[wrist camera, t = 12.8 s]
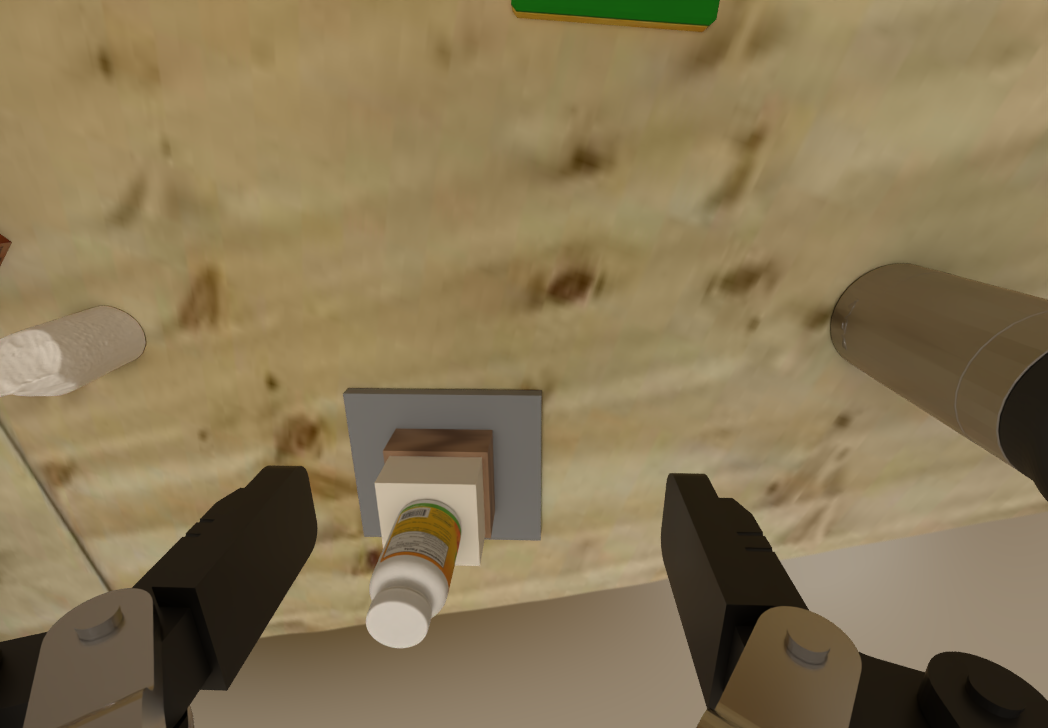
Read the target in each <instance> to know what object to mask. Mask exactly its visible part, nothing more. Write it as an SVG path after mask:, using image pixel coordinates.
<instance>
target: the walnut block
mask: <svg viewBox="0 0 1048 728" xmlns="http://www.w3.org/2000/svg"><path fill="white" fill-rule="evenodd" d="M383 456H384V464H385V463H386V461H387V459H388V457H389V456H422V457H482V469H483V492H484V516H485V538H491V535H492V528H493V521H494V515H495V493H494V463H493V434H492V430H471V429H397V428H396V429H395V431H394V433H393V434H392V436H391V438H390V439H389V441H388V443H387V445H386V446H385V448H384V450H383Z"/></svg>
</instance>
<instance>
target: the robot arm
mask: <svg viewBox="0 0 1048 728" xmlns="http://www.w3.org/2000/svg"><path fill="white" fill-rule="evenodd" d="M831 336H832V341H833V343H834V346H835V348H836V350H837V351H838V352H839V354H840V355H841V356H842V357H843V358H844V359H845V360H847V361H848V362H849V363H851V364H852V365H854V366H855V367H857V368H859V369H860V370H862V371H863V372H865V373H866V374H868V375H869V376H871V377H872V378H874V379H875V380H877V381H878V382H880V383H881V384H883V385H885V386H886V387H888V388H889V389H891V390H892V391H894V392H896V393H897V394H899V395H900V396H902V397H903V398H905V399H907V400H908V401H910V402H911V403H913V404H914V405H916V406H917V407H919V408H921V409H922V410H924V411H925V412H927V413H928V414H930V415H932V416H933V417H935V418H936V419H938V420H939V421H941V422H943V423H944V424H946V425H947V426H949V427H950V428H952V429H953V430H955V431H957V432H958V433H960V434H961V435H963V436H964V437H966V438H968V439H969V440H971V441H972V442H974V443H976V444H977V445H979V446H980V447H982V448H984V449H985V450H987V451H988V452H990V453H991V454H993V455H995V456H996V457H998V458H999V459H1001V460H1002V461H1004V462H1005V463H1007V464H1009V465H1010V466H1012V467H1013V468H1015V469H1017V470H1018V471H1019V472H1021V473H1022V474H1024V475H1025V476H1027V477H1028V478H1030V479H1031V480H1033V481H1034V483H1035V485H1036V486H1037V488H1038V490H1039V491H1040V493H1041V494H1042V495H1043V497H1044V498H1045V499H1046V500H1047V501H1048V300H1047V299H1043V298H1039V297H1036V296H1032V295H1028V294H1024V293H1020V292H1016V291H1013V290H1009V289H1005V288H1001V287H997V286H994V285H990V284H986V283H982V282H978V281H974V280H971V279H967V278H963V277H959V276H956V275H952V274H949V273H945V272H941V271H937V270H933V269H929V268H925V267H921V266H917V265H913V264H891V265H886V266H882V267H880V268H877V269H875V270H872V271H870V272H869V273H867V274H865V275H863V276H862V277H860V278H859V279H858V280H857V281H855V282H854V283H853V284H852V285H851V286H850V287H849V288H848V289H847V290H846V291H845V293H844V294H843V295H842V296H841V298H840V300H839V302H838V303H837V305H836V307H835V310H834V313H833V316H832V321H831ZM316 538H317V520H316V514H315V509H314V504H313V498H312V493H311V488H310V482H309V477H308V473H307V471H306V469H305V468H304V467H302V466H266V467H264V468H263V469H262V470H261V471H260V472H259V473H258V474H257V475H256V477H255V478H254V479H253V480H252V481H251V482H250V483H249V484H248V485H247V486H246V487H245V488H239V489H238V490H236V491H234V492H233V493H231V494H229V495H228V496H226V497H224V498H223V499H221V500H219V501H218V502H216V503H215V504H214V505H213V506H212V507H211V508H210V509H209V511H208V512H207V513H206V514H205V515H204V516H203V517H202V518H201V519H200V522H199V523H196V524H195V525H194V526H193V527H192V528H191V529H190V530H189V531H188V532H187V533H186V536H185V537H182V538H181V539H180V540H179V541H178V542H177V543H176V544H175V545H174V546H173V547H172V548H171V549H170V550H169V551H168V552H167V553H166V554H165V555H164V556H163V557H162V558H161V559H160V560H159V561H158V562H157V563H156V564H155V565H154V566H153V567H152V568H151V569H150V570H149V571H148V572H147V573H146V574H145V575H144V576H143V577H142V578H141V579H140V580H139V581H138V582H137V583H136V584H135V585H134V586H133V587H132V588H127V589H119V590H115V591H111V592H107V593H104V594H101V595H99V596H96V597H94V598H92V599H90V600H88V601H86V602H84V603H82V604H80V605H79V606H77V607H75V608H74V609H72V610H71V611H69V612H68V613H66V614H65V615H64V616H63V617H61V618H60V619H59V620H58V621H57V622H56V623H55V624H54V625H53V626H52V627H51V628H50V630H49V631H48V632H45V633H40V634H35V635H31V636H26V637H22V638H17V639H12V640H8V641H3V642H0V728H194V718H193V713H192V709H191V707H190V704H191V702H192V701H193V699H194V698H195V696H196V695H197V693H198V692H199V690H226V691H227V690H228V688H229V687H230V685H231V683H232V682H233V680H234V678H235V677H236V675H237V673H238V672H239V670H240V668H241V667H242V665H243V664H244V662H245V660H246V659H247V657H248V655H249V654H250V652H251V651H252V649H253V647H254V646H255V644H256V643H257V641H258V639H259V638H260V636H261V634H262V633H263V631H264V629H265V628H266V626H267V625H268V623H269V621H270V620H271V618H272V616H273V615H274V613H275V612H276V610H277V608H278V607H279V605H280V603H281V602H282V600H283V598H284V597H285V595H286V594H287V592H288V590H289V589H290V587H291V585H292V584H293V582H294V581H295V579H296V577H297V576H298V574H299V572H300V571H301V569H302V567H303V566H304V564H305V563H306V561H307V559H308V558H309V556H310V554H311V553H312V551H313V548H314V546H315V542H316ZM661 549H662V556H663V561H664V565H665V568H666V571H667V575H668V578H669V581H670V585H671V588H672V592H673V595H674V598H675V602H676V605H677V608H678V612H679V615H680V618H681V622H682V625H683V629H684V632H685V635H686V639H687V642H688V646H689V649H690V652H691V656H692V659H693V662H694V666H695V669H696V672H697V676H698V679H699V682H700V686H701V689H702V692H703V696H704V699H705V703H706V706H707V710H706V711H705V713H704V714H703V716H702V718H701V720H700V722H699V723H698V725H697V727H696V728H1048V701H1047V700H1046V699H1045V698H1044V697H1043V695H1041V694H1040V693H1039V692H1038V691H1037V690H1036V689H1035V688H1034V687H1032V686H1031V685H1030V684H1029V683H1027V682H1026V681H1025V680H1023V679H1022V678H1021V677H1019V676H1017V675H1016V674H1014V673H1013V672H1011V671H1010V670H1008V669H1006V668H1004V667H1002V666H1000V665H998V664H996V663H994V662H991V661H989V660H987V659H984V658H981V657H978V656H975V655H972V654H968V653H962V652H943V653H940V654H937V655H935V656H934V657H933V658H932V659H931V660H930V662H929V664H928V666H927V669H926V672H922V671H918V670H915V669H911V668H907V667H904V666H900V665H897V664H894V663H890V662H887V661H883V660H880V659H876V658H874V657H870V656H867V655H865V654H862V653H860V652H858V650H857V648H856V647H855V645H854V644H853V642H852V641H851V639H850V638H849V637H848V636H847V635H846V634H845V633H844V632H843V631H842V630H841V629H840V628H839V627H837V626H836V625H835V624H834V623H832V622H830V621H829V620H827V619H826V618H824V617H822V616H820V615H818V614H816V613H813V612H811V611H809V609H808V608H807V606H806V604H805V603H804V601H803V599H802V598H801V596H800V594H799V593H798V591H797V589H796V588H795V586H794V584H793V582H792V581H791V579H790V577H789V576H788V574H787V572H786V571H785V569H784V567H783V566H782V564H781V562H780V561H779V559H778V557H777V556H776V554H775V552H772V547H771V545H770V544H769V542H768V540H767V539H766V537H765V536H763V532H762V530H761V529H760V527H759V525H758V524H757V522H756V520H755V518H754V517H753V515H752V514H751V513H750V512H749V511H748V510H746V509H745V508H744V507H743V506H742V505H740V504H739V503H738V502H737V501H735V500H734V499H733V498H719V497H718V496H717V494H716V492H715V490H714V488H713V486H712V484H711V482H710V480H709V478H708V477H707V475H706V474H686V473H670V474H669V475H668V478H667V483H666V492H665V501H664V510H663V519H662V528H661Z"/></svg>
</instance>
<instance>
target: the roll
mask: <svg viewBox="0 0 1048 728" xmlns="http://www.w3.org/2000/svg"><path fill="white" fill-rule="evenodd" d="M145 345H146V341H145V335H144V332H143V330H142V328H141V326H140V325H139V324H138V322H137V321H136V320H135V319H134V318H132V317H131V316H130V315H129V314H127V313H125V312H123V311H121V310H119V309H116V308H114V307H110V306H98V307H93V308H90V309H87V310H84V311H81V312H78V313H74V314H71V315H68V316H64V317H62V318H59V319H56V320H53V321H49V322H46V323H43V324H40V325H36V326H33V327H30V328H27V329H24V330H21V331H19V332H16V333H13V334H10V335H8V336H5V337H3V338H1V339H0V397H2V396H6V395H11V394H14V395H19V396H58V395H63V394H66V393H69V392H72V391H74V390H76V389H79V388H80V387H82V386H84V385H86V384H88V383H90V382H92V381H94V380H96V379H97V378H99V377H101V376H104V375H105V374H107V373H109V372H111V371H113V370H115V369H117V368H119V367H121V366H123V365H125V364H127V363H129V362H131V361H133V360H135V359H137V358H138V357H139V356H140V355H141V354H142V353H143V351H144V348H145Z"/></svg>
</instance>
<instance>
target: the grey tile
mask: <svg viewBox="0 0 1048 728" xmlns="http://www.w3.org/2000/svg"><path fill="white" fill-rule="evenodd" d="M343 397H344V404H345V410H346V417H347V424H348V430H349V437H350V444H351V451H352V457H353V464H354V471H355V477H356V484H357V491H358V498H359V504H360V511H361V518H362V524H363V531H364V536H365V537H382V535H381V528H380V520H379V513H378V505H377V498H376V490H375V481H376V479H377V477H378V476H379V474H380V472H381V470H382V468H383V466H384V465H385V464H384V456H383V450H384V448H385V446H386V445H387V443H388V441H389V439H390V438H391V436H392V434H393V433H394V431H395V429H396V428H397V429H471V430H492V434H493V463H494V493H495V515H494V521H493V528H492V535H491V538H484V539H498V540H541V390H467V389H369V388H348V389H347V390H346V391H345V392H344V393H343Z"/></svg>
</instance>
